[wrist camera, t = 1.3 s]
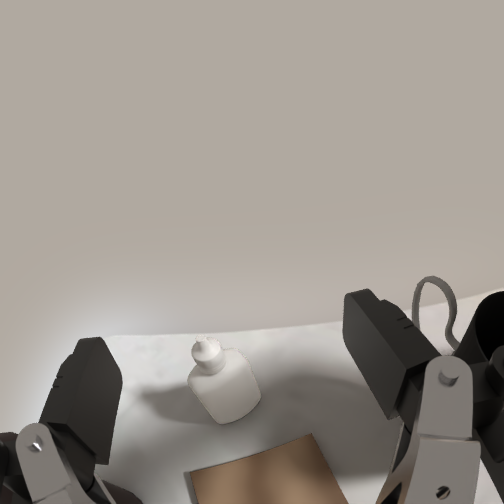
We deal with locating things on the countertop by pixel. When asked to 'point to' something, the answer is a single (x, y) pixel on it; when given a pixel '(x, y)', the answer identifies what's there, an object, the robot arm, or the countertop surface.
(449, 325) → the glass holder
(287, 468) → the walnut board
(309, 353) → the countertop surface
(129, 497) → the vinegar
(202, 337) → the eye dropper bottle
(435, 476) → the robot arm
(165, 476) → the countertop surface
